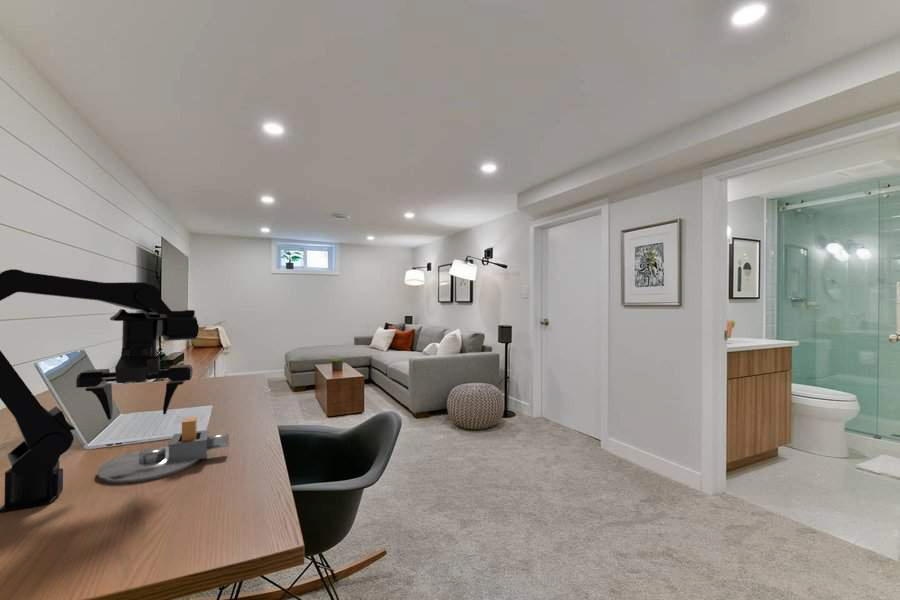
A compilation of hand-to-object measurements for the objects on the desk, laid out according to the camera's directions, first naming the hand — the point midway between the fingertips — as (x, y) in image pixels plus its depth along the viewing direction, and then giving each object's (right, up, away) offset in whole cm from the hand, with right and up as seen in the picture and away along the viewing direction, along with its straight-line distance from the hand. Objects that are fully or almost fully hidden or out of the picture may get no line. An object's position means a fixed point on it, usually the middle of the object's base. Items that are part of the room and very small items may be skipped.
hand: (138, 416), depth 85 cm
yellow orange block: (+6, -11, +7) cm, 14 cm away
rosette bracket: (+2, -12, +6) cm, 13 cm away
